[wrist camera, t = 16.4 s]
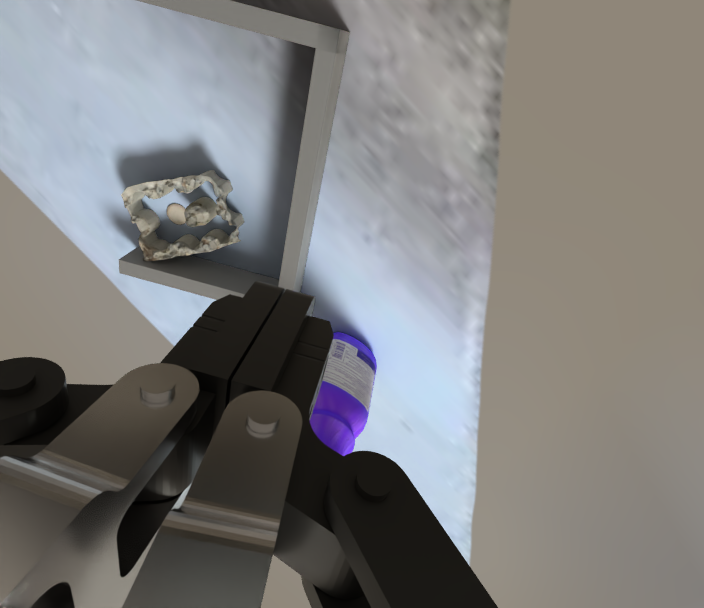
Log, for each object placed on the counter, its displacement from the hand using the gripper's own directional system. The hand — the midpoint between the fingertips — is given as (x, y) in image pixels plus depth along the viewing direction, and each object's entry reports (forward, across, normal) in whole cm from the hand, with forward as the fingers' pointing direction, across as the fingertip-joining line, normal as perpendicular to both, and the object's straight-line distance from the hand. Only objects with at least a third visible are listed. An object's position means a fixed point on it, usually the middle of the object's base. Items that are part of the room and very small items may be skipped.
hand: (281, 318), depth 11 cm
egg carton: (+32, +17, +12) cm, 38 cm away
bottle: (+31, -2, +24) cm, 39 cm away
